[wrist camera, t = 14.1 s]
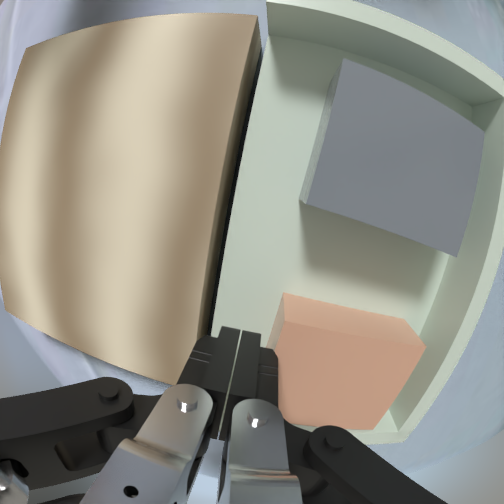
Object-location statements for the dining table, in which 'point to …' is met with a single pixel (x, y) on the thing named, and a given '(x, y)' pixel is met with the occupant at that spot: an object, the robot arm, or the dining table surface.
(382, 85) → the slate tile
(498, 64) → the dining table surface
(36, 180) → the plate
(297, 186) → the box
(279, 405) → the terracotta tile
